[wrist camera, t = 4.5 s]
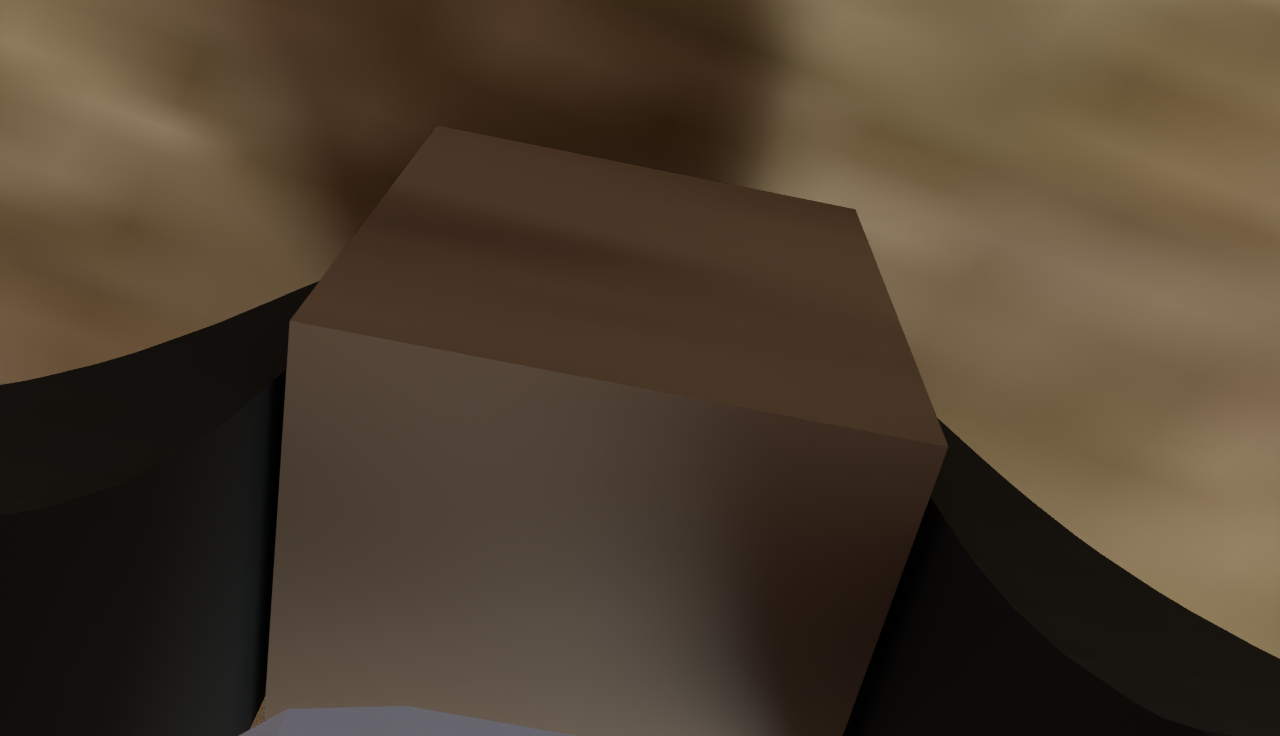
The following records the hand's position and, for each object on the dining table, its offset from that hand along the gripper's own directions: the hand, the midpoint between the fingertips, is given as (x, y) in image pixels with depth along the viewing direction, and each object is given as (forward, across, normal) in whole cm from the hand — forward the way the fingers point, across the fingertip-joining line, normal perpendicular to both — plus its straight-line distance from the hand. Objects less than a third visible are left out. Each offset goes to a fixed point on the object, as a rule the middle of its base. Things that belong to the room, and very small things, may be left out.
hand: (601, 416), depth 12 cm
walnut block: (+1, 0, 0) cm, 1 cm away
